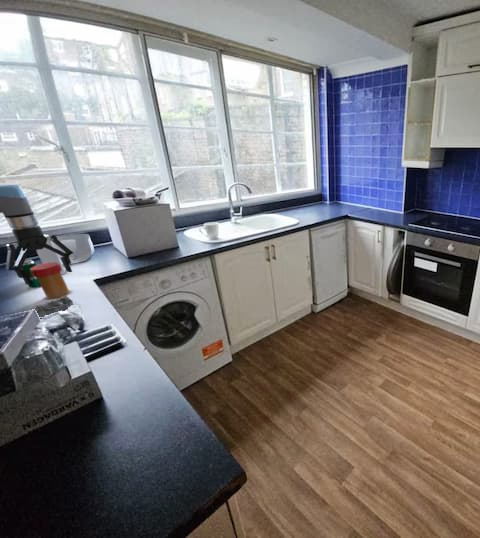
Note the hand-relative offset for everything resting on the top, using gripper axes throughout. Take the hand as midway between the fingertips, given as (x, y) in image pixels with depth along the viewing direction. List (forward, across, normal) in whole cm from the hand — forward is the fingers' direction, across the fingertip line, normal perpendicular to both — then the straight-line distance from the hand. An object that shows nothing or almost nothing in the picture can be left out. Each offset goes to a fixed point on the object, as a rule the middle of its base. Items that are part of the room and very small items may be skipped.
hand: (50, 277), depth 121 cm
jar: (+8, 0, 0) cm, 8 cm away
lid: (-5, 0, 0) cm, 5 cm away
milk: (+8, -12, -30) cm, 33 cm away
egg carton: (+8, +8, +16) cm, 20 cm away
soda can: (+8, -2, -21) cm, 23 cm away
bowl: (+8, -28, -47) cm, 56 cm away
